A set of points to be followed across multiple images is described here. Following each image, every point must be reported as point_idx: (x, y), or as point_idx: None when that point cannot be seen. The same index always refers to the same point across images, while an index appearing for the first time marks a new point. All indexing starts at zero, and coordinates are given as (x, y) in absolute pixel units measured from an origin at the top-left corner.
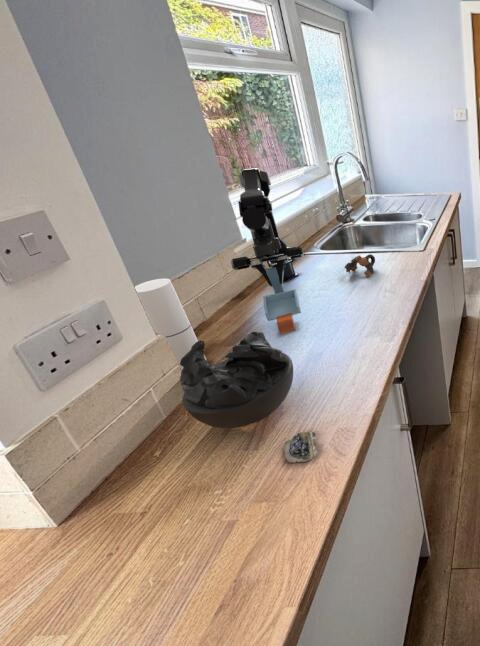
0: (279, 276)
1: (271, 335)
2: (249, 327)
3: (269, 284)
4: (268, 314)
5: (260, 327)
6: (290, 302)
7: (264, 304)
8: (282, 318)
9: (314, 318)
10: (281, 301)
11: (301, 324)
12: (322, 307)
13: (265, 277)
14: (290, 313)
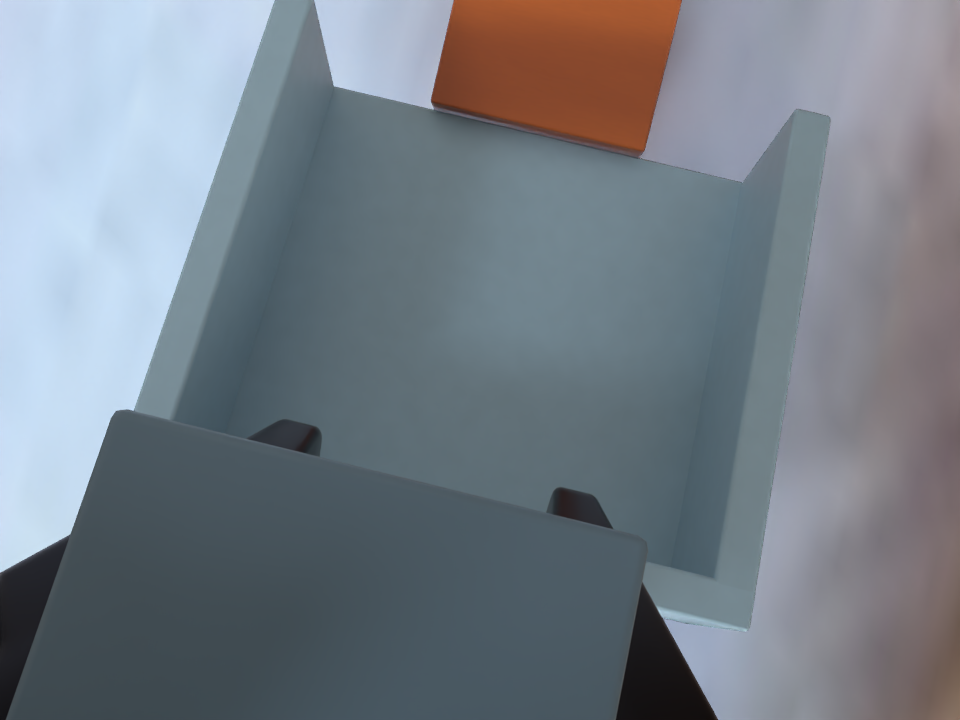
0: None
1: (760, 63)
2: (925, 512)
3: (607, 520)
4: (750, 214)
5: (815, 399)
6: (348, 372)
7: (784, 357)
8: (590, 4)
9: (206, 101)
10: (464, 483)
11: (384, 65)
12: (32, 339)
13: (686, 709)
14: (446, 87)
